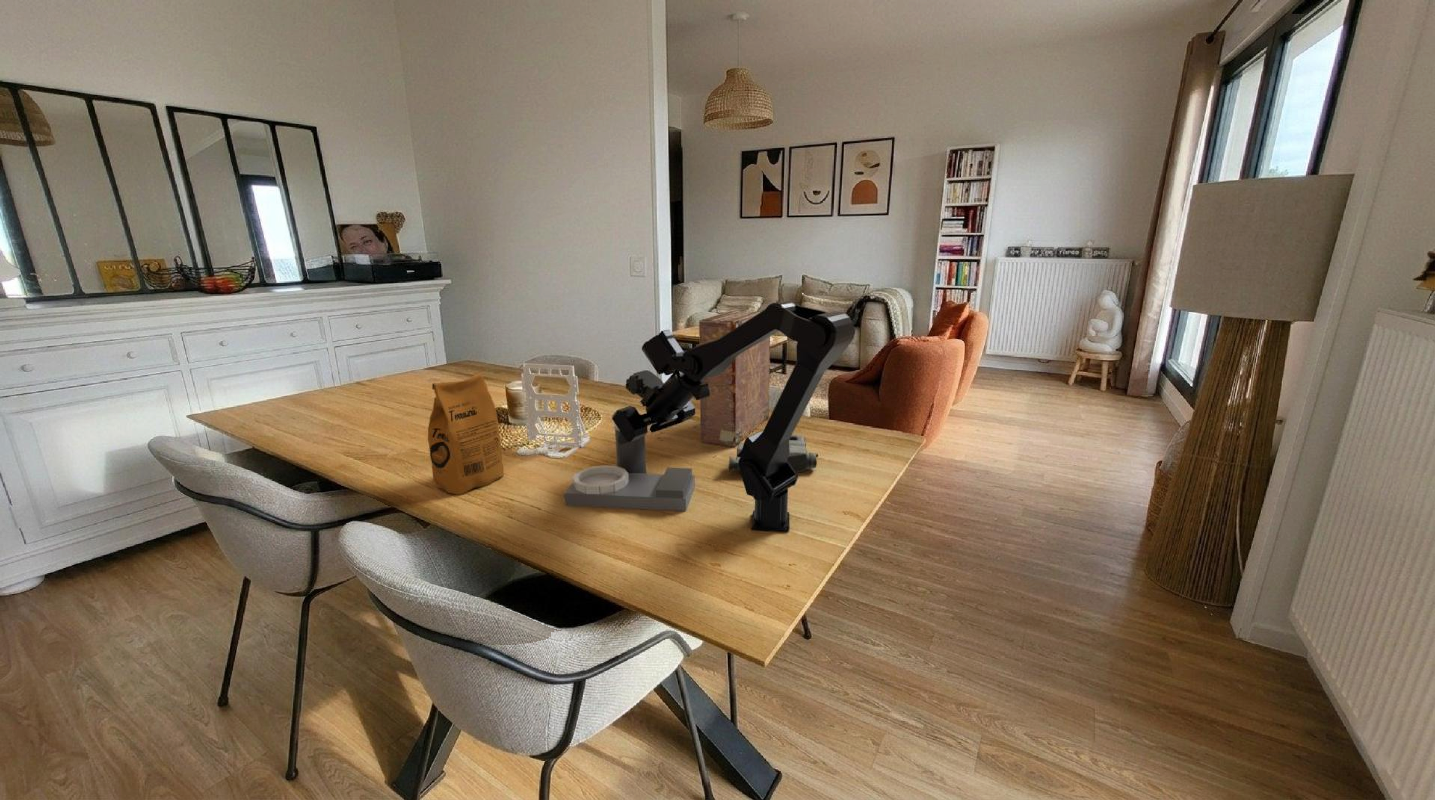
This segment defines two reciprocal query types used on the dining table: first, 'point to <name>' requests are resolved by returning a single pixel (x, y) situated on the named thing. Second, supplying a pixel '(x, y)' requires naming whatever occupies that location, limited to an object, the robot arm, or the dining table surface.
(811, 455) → the camcorder
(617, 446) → the dark grey cylinder
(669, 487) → the grey stepped base
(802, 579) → the dining table surface
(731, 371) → the book
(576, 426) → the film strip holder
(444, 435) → the coffee package
